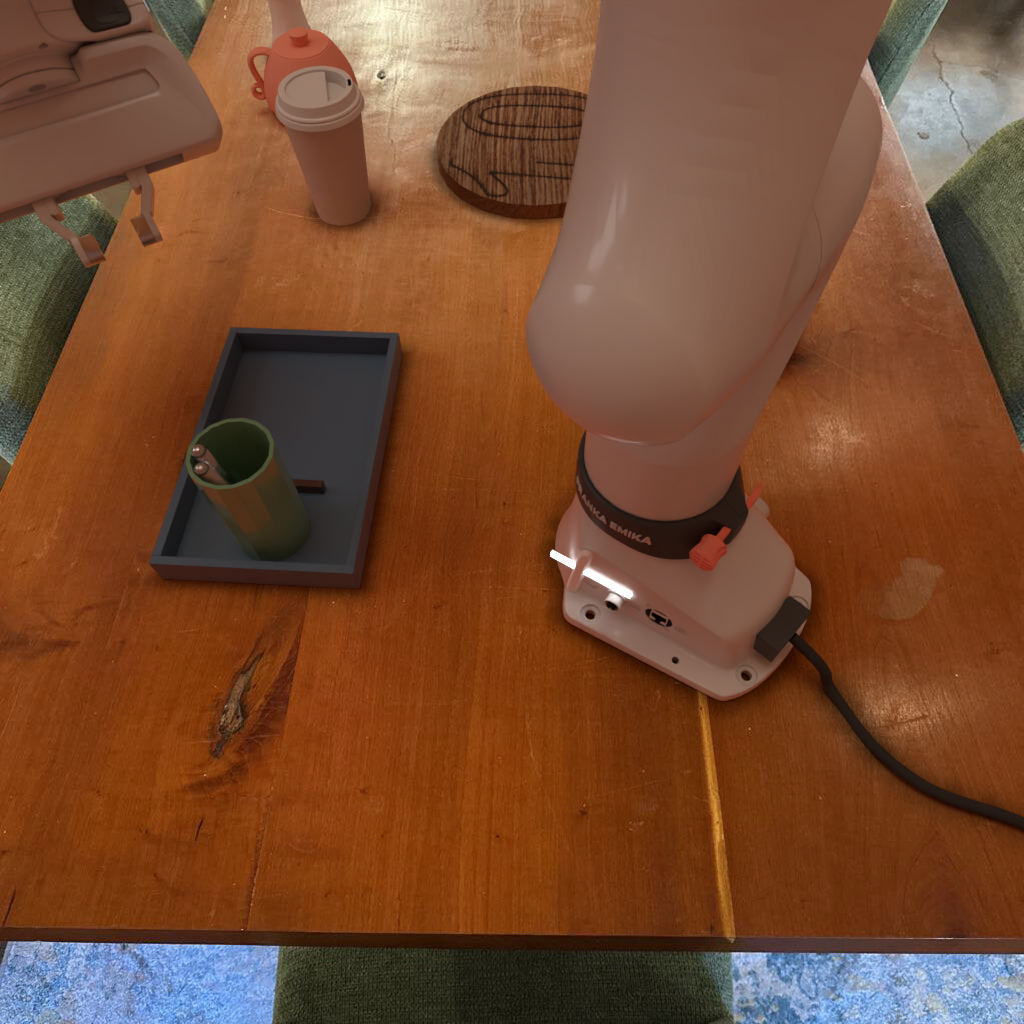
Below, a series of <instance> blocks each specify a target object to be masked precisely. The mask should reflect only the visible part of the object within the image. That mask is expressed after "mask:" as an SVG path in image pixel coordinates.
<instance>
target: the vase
mask: <svg viewBox="0 0 1024 1024" xmlns="http://www.w3.org/2000/svg"><path fill="white" fill-rule="evenodd" d="M266 1H267V4H268V8H269V13H270V20H271V29H272V33H271V34H272V37H271V38H272V39H271V45H270V47H269V48H270V49H271V47H272V44H273V42H274V41H275V40H276V39H277V38H278V37H279V36H281V35H282V34H284V33H287V32H288V31H289V30H290V29H292V28H294V27H304V28H306V29H311V30H312V28H311V26H310V24H309V22H308V19H307V17H306V14H305V11H304V9H303V6H302V2H301V0H266Z"/></svg>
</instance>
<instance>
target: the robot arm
mask: <svg viewBox="0 0 1024 1024" xmlns="http://www.w3.org/2000/svg"><path fill="white" fill-rule="evenodd" d="M892 3H893V0H600V4H599V5H600V7H599V17H598V26H597V34H596V42H595V49H594V55H593V63H592V69H591V74H590V79H589V84H588V90H587V95H588V96H587V101H586V107H585V112H584V117H583V122H582V128H581V133H580V138H579V143H578V149H577V154H576V159H575V164H574V169H573V174H572V179H571V184H570V189H569V194H568V199H567V203H566V208H565V212H564V216H562V222H561V225H560V228H559V232H558V235H557V239H556V242H555V245H554V249H553V252H552V254H551V257H550V259H549V262H548V265H547V267H546V269H545V272H544V276H543V278H542V280H541V283H540V284H539V286H538V289H537V291H536V294H535V296H534V299H533V300H532V303H531V305H530V308H529V310H528V313H527V316H526V320H525V326H524V327H525V331H524V332H525V333H524V336H525V342H526V343H525V344H526V348H527V353H528V356H529V360H530V363H531V367H532V369H533V370H534V373H535V375H536V378H537V381H538V382H539V384H540V385H541V387H542V389H543V390H544V392H545V394H546V395H547V397H548V398H549V399H550V401H551V402H552V403H553V404H554V405H555V406H556V408H558V409H559V411H560V412H561V413H562V414H564V416H565V417H566V418H568V419H569V420H570V421H571V422H573V423H574V424H576V425H577V426H578V427H580V428H582V429H584V432H583V435H582V436H581V439H580V442H579V447H578V451H577V458H576V464H575V465H576V466H575V473H574V484H575V495H574V497H573V499H572V502H571V504H570V505H569V507H568V508H567V509H566V510H565V512H564V514H562V517H561V519H560V521H559V523H558V527H557V529H556V534H555V540H554V549H552V550H551V551H550V554H549V555H550V556H549V557H551V558H552V559H554V560H556V563H557V567H558V569H559V572H560V576H561V578H562V582H563V587H564V588H563V595H562V615H563V617H564V619H565V620H566V622H568V623H569V624H570V625H572V626H574V627H576V628H578V629H580V630H582V631H583V632H585V633H586V634H589V635H591V636H593V637H594V638H597V639H599V640H601V641H603V642H605V643H606V644H608V645H610V646H612V647H614V648H615V649H618V650H620V651H621V652H623V653H625V654H628V655H629V656H631V657H633V658H635V659H636V660H638V661H641V662H642V663H645V664H646V665H648V666H650V667H652V668H654V669H657V670H658V671H660V672H662V673H664V674H666V675H668V676H670V677H671V678H674V679H675V680H677V681H679V682H681V683H683V684H685V685H687V686H688V687H691V688H693V689H694V690H696V691H699V692H700V693H702V694H704V695H706V696H707V697H710V698H712V699H714V700H716V701H720V702H728V701H730V700H734V699H737V698H740V697H742V696H744V695H746V694H748V693H750V692H751V691H753V690H755V689H756V688H757V687H759V686H760V685H761V684H763V683H764V682H765V681H766V680H768V678H769V677H770V676H771V675H773V673H774V672H775V671H776V670H777V669H778V668H779V667H780V665H781V664H782V663H783V662H784V660H785V659H786V658H787V656H788V655H789V653H790V652H791V651H792V649H793V648H795V649H796V650H797V651H798V652H799V653H800V654H801V655H802V656H803V657H804V658H806V659H807V661H809V663H810V664H811V665H812V666H813V667H814V668H815V670H816V672H818V674H819V680H820V684H821V685H822V688H823V689H824V691H825V692H826V694H827V695H828V697H829V698H830V700H831V701H832V703H833V705H834V706H835V708H836V709H837V710H838V712H839V713H840V714H841V716H842V717H843V719H844V720H845V721H846V722H847V724H848V725H849V727H850V728H851V730H852V731H853V732H854V733H855V735H856V736H857V737H858V738H859V740H860V741H861V742H862V743H863V744H864V745H865V746H866V747H867V749H868V750H869V751H871V753H872V754H873V755H874V756H875V757H876V758H877V759H878V760H879V761H880V762H882V763H883V764H884V765H885V766H886V767H887V768H889V770H891V771H892V772H893V773H895V774H896V775H897V776H899V778H901V779H902V780H903V781H905V782H906V783H908V784H910V785H911V786H912V787H914V788H916V789H918V790H919V791H921V792H923V793H924V794H926V795H928V796H930V797H932V798H933V799H935V800H938V801H941V802H943V803H945V804H948V805H950V806H953V807H956V808H959V809H962V810H965V811H969V812H971V813H975V814H977V815H980V816H984V817H987V818H991V819H994V820H997V821H1000V822H1003V823H1005V824H1008V825H1010V826H1014V827H1016V828H1018V829H1021V830H1023V831H1024V816H1022V815H1021V814H1018V813H1015V812H1012V811H1010V810H1007V809H1005V808H1001V807H999V806H995V805H992V804H989V803H985V802H982V801H980V800H976V799H973V798H970V797H966V796H963V795H960V794H957V793H954V792H952V791H949V790H947V789H945V788H942V787H939V786H938V785H936V784H934V783H932V782H930V781H928V780H927V779H925V778H923V777H921V776H919V775H918V774H917V773H915V772H914V771H912V770H911V769H909V768H908V767H907V766H905V765H904V764H903V763H902V762H901V761H899V760H898V759H897V758H896V757H895V756H893V755H892V754H891V753H890V752H888V751H887V750H886V749H885V748H884V747H883V745H881V743H879V742H878V741H877V739H876V738H874V736H873V735H872V734H871V733H870V732H869V731H868V730H867V728H866V727H865V725H863V723H862V722H861V721H860V719H859V718H858V717H857V715H856V714H855V713H854V711H853V710H852V709H851V707H850V706H849V704H848V703H847V701H846V699H845V698H844V697H843V696H842V693H841V692H840V691H839V689H838V688H837V686H836V685H835V683H834V681H833V673H832V670H831V669H830V667H829V665H828V664H827V662H826V661H825V660H824V659H823V658H822V656H821V655H820V654H819V653H818V652H817V651H816V650H815V649H814V648H813V647H812V646H811V645H810V644H808V643H807V641H806V640H805V639H804V638H802V637H801V636H800V635H801V634H802V631H803V629H804V627H805V625H806V623H807V620H808V618H809V617H810V616H811V614H812V613H813V611H812V610H811V605H812V584H811V581H810V580H809V578H808V577H807V576H806V575H805V574H804V573H803V572H802V571H800V569H799V568H798V567H797V566H796V560H795V556H794V555H795V554H794V552H793V550H792V548H791V547H790V545H789V544H788V543H787V542H786V540H785V539H784V538H783V537H782V536H781V535H780V533H779V532H778V531H777V529H776V528H775V527H774V526H773V525H772V523H771V522H770V521H769V520H768V518H769V516H770V513H771V512H770V507H769V505H768V503H766V501H765V500H764V499H763V498H761V497H760V495H761V492H762V490H763V487H764V485H765V483H764V482H763V481H761V482H760V483H759V484H758V485H757V487H756V488H755V489H754V490H752V493H751V494H750V495H748V494H747V493H746V492H745V484H744V479H743V473H742V472H743V471H742V468H741V462H742V459H743V457H744V455H745V452H746V450H747V448H748V446H749V443H750V441H751V438H752V436H753V433H754V431H755V429H756V426H757V424H758V422H759V420H760V417H761V415H762V414H763V411H764V409H765V407H766V405H767V403H768V401H769V399H770V398H771V396H772V394H773V392H774V390H775V387H776V386H777V384H778V383H779V381H780V379H781V376H782V375H783V372H784V370H785V369H786V367H787V364H788V362H789V361H790V359H791V356H792V355H793V353H794V351H795V349H796V347H797V345H798V343H799V341H800V339H801V337H802V335H803V333H804V331H805V329H806V327H807V325H808V323H809V321H810V320H811V317H812V315H813V314H814V311H815V309H816V307H817V305H818V303H819V301H820V299H821V297H822V294H823V293H824V291H825V289H826V287H827V285H828V283H829V281H830V278H831V277H832V275H833V272H834V270H835V268H836V266H837V264H838V262H839V260H840V259H841V256H842V254H843V252H844V250H845V248H846V245H847V243H848V241H849V240H850V237H851V235H852V233H853V231H854V228H855V227H856V224H857V222H858V220H859V218H860V216H861V214H862V212H863V209H864V207H865V203H866V201H867V198H868V196H869V194H870V190H871V187H872V184H873V181H874V178H875V174H876V171H877V167H878V164H879V161H880V160H879V159H880V155H881V151H882V146H883V137H884V135H883V134H884V132H883V131H884V128H883V127H884V126H883V119H882V114H881V110H880V106H879V104H878V101H877V98H876V97H875V95H874V93H873V90H871V88H870V86H869V85H868V83H867V82H866V81H865V80H864V79H863V77H862V73H863V71H864V69H865V65H866V63H867V61H868V58H869V56H870V53H871V51H872V49H873V46H874V44H875V42H876V39H877V38H878V35H879V33H880V31H881V29H882V26H883V24H884V22H885V20H886V18H887V15H888V13H889V10H890V9H891V6H892ZM223 133H224V131H223V125H222V122H221V120H220V117H219V115H218V112H217V111H216V108H215V107H214V104H213V103H212V101H211V99H210V97H209V95H208V94H207V92H206V90H205V88H204V86H203V84H202V82H200V79H199V78H198V76H197V75H196V73H195V71H194V70H193V68H192V67H191V66H190V64H189V63H188V61H187V59H186V58H185V56H184V55H183V53H182V52H181V51H180V50H179V48H177V46H176V45H175V44H173V42H171V41H170V40H169V39H167V38H166V37H164V36H163V35H161V34H158V33H157V30H156V26H155V23H154V21H153V17H152V15H151V12H150V11H149V9H148V6H147V5H146V4H145V1H144V0H0V225H1V224H4V223H7V222H10V221H14V220H17V219H19V218H22V217H25V216H29V215H30V214H34V213H35V214H36V216H37V218H38V220H39V221H40V222H41V223H42V224H43V225H44V226H46V228H48V229H49V230H50V231H52V232H54V233H55V234H56V235H58V236H60V237H61V238H62V239H63V240H65V241H67V242H68V243H69V244H71V245H72V247H73V248H74V250H75V253H76V254H77V256H78V258H79V260H80V262H81V263H82V265H83V266H84V267H85V268H87V269H88V268H90V267H93V266H97V265H99V264H102V263H104V262H107V258H106V256H105V254H104V252H103V251H102V250H101V249H100V245H99V243H98V240H97V239H96V237H95V236H94V234H92V233H91V232H89V233H86V234H83V235H78V234H77V233H75V232H74V231H73V230H71V229H70V228H68V227H67V226H65V224H63V223H62V222H63V221H65V220H66V216H65V215H64V213H63V211H62V209H61V207H60V205H61V204H64V203H67V202H70V201H73V200H76V199H78V198H82V197H85V196H88V195H91V194H94V193H97V192H100V191H104V190H107V189H109V188H112V187H115V186H118V185H122V184H124V183H126V182H127V183H128V182H129V184H130V186H131V189H132V190H133V192H134V194H135V195H136V196H140V195H141V196H140V215H138V216H135V217H133V218H130V219H129V221H130V223H131V225H132V227H133V229H134V230H135V232H136V234H137V236H138V239H139V241H140V242H141V244H142V246H143V247H144V248H146V247H149V246H151V245H154V244H158V243H161V242H164V238H163V236H162V234H161V231H160V230H159V227H158V226H157V224H156V222H155V220H154V218H153V217H154V215H155V214H154V213H155V195H156V189H155V186H154V182H153V181H152V179H151V177H150V175H151V174H154V173H157V172H160V171H162V170H166V169H169V168H172V167H175V166H178V165H181V164H184V163H187V162H190V161H193V160H197V159H199V158H201V157H205V156H208V155H212V154H214V153H217V151H219V149H220V147H221V144H222V140H223V135H224V134H223ZM589 614H590V615H593V617H594V618H592V619H591V618H588V617H586V615H589ZM673 661H674V662H675V663H674V662H673ZM742 674H745V675H747V676H748V678H749V680H745V679H744V678H743V677H742Z"/></svg>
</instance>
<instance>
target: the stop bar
mask: <svg viewBox="0 0 1024 1024" xmlns="http://www.w3.org/2000/svg"><path fill="white" fill-rule="evenodd" d="M292 480H293V482H294V484H295V486H296V488H297V490H298V493H316V494H324V493H325V489H326V486H325V484H324V481H323V480H303V479H292Z"/></svg>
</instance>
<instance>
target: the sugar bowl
mask: <svg viewBox="0 0 1024 1024" xmlns="http://www.w3.org/2000/svg"><path fill="white" fill-rule="evenodd" d="M271 45H272V47H271V46H270V47H271V49H270V47H267V46H262V45H261V46H260V45H259V46H256V47H254V48H252V49H251V50H250V51H249V52H248V55H247V59H246V60H247V61H246V62H247V67H248V70H249V72H250V73H251V75H252V77H253V79H254V81H255V82H254V83H253V84H252V85H251V88H250V90H251V91H250V92H251V95H252V96H253V98H254V99H256V100H258V101H266V104H267V106H268V108H270V110H271V111H272V112H273V113H274V114H276V113H275V102H276V97H277V94H278V87H279V84H280V83H281V81H282V80H283V79H284V78H285V77H286V76H288V75H289V74H291V73H293V72H295V71H297V70H300V69H303V68H307V67H312V66H330V67H335V68H338V69H341V70H343V71H345V72H346V73H348V74H349V75H350V77H351V78H352V80H353V82H354V83H355V84H356V85H357V86H358V87H359V85H358V80H357V76H356V74H355V72H354V69H353V67H352V66H351V63H350V61H349V60H348V59H347V57H346V56H345V54H344V52H342V50H341V49H340V48H339V47H338V46H337V44H335V42H334V41H333V40H332V39H331V38H330V37H329V36H328V35H326V34H325V33H324V32H322V31H319V30H316V29H312V28H311V29H306V28H304V27H294V28H292V29H290V30H289V31H288V32H287V33H284V34H282V35H281V36H279V37H278V38H277V39H276V40H275V41H274V42H273V44H272V43H271ZM258 56H264V57H265V56H266V57H267V59H266V62H265V67H264V71H263V72H264V74H263V78H262V76H261V74H260V73H259V71H258V69H257V67H256V64H255V61H254V59H255V58H257V57H258ZM257 89H260V91H258V90H257Z"/></svg>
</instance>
